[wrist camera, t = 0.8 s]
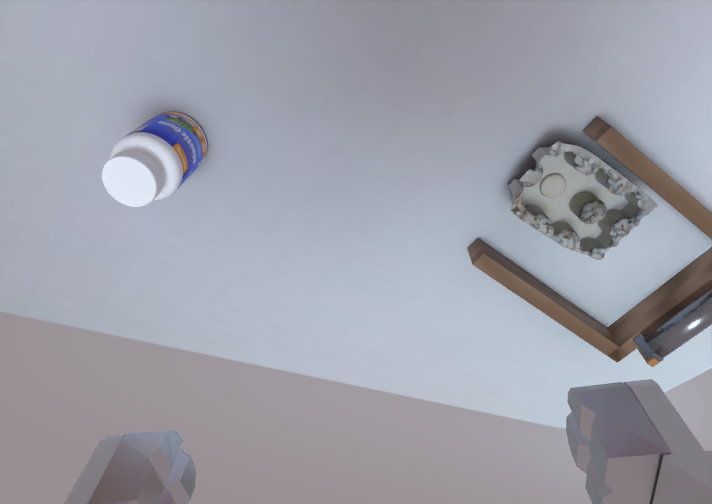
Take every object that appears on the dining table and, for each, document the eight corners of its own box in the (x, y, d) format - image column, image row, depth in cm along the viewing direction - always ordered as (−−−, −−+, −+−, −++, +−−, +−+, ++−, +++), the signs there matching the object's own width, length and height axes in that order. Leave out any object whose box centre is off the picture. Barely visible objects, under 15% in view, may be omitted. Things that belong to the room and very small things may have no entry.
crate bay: (596, 116, 41) (611, 126, 38) (740, 240, 46) (762, 256, 44) (467, 248, 48) (472, 264, 45) (605, 343, 53) (617, 362, 51)
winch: (718, 268, 44) (741, 288, 42) (734, 281, 45) (757, 302, 42) (626, 337, 49) (641, 359, 46) (642, 348, 49) (658, 370, 47)
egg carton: (494, 195, 44) (505, 212, 40) (552, 125, 41) (569, 136, 37) (582, 253, 46) (599, 274, 43) (643, 191, 43) (667, 207, 40)
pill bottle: (221, 146, 44) (183, 189, 35) (181, 180, 45) (136, 229, 37) (174, 97, 42) (123, 130, 33) (135, 135, 43) (76, 176, 35)
